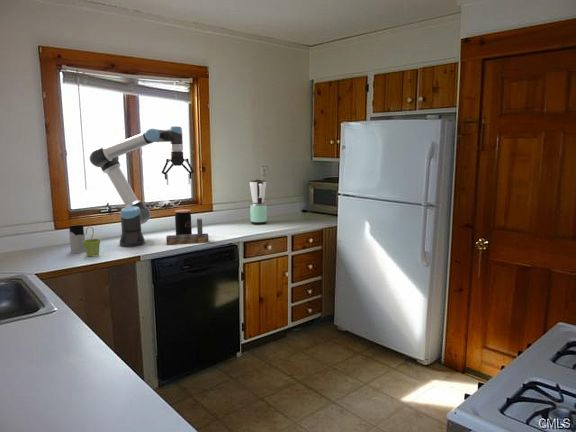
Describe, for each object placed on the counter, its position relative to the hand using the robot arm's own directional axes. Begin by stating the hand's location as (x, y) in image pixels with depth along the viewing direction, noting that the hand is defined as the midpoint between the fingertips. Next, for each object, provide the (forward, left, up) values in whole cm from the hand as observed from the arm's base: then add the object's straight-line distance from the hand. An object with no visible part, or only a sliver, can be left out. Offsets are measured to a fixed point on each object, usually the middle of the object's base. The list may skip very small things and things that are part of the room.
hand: (178, 184), depth 283 cm
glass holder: (-57, -15, -37) cm, 70 cm away
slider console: (+4, -8, -37) cm, 38 cm away
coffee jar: (+2, +12, -37) cm, 39 cm away
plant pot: (-49, -30, -37) cm, 68 cm away
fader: (+12, -8, -33) cm, 36 cm away
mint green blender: (+61, +48, -37) cm, 86 cm away
